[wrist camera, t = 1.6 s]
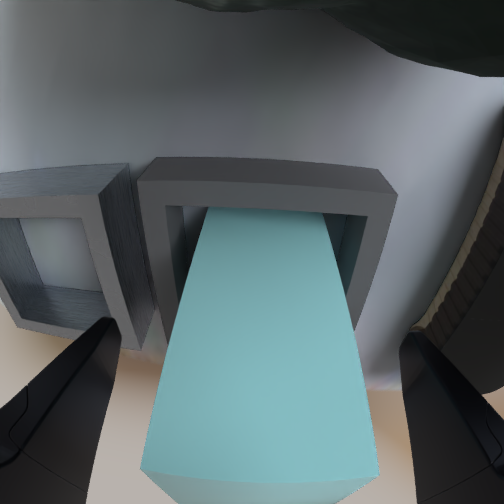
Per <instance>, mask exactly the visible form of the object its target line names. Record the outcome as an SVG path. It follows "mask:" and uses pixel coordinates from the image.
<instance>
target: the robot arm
mask: <svg viewBox="0 0 504 504" xmlns="http://www.w3.org/2000/svg"><path fill="white" fill-rule="evenodd" d="M121 343H122V335H121V332H120V330H119V327H118V324H117V322H116V320H115V319H114V318H113V317H105V316H103V317H101V318H100V319H99V320H97V321H96V322H95V323H94V324H93V325H92V326H91V327H89V328H88V329H87V330H86V331H85V332H84V333H83V334H82V335H80V336H79V337H78V338H77V339H76V340H75V341H74V342H73V343H72V344H70V345H69V346H68V347H67V348H66V349H65V350H64V351H63V352H62V353H61V354H59V355H58V356H57V357H56V358H55V359H54V360H53V361H52V362H51V363H50V364H48V365H47V366H46V367H45V368H44V369H43V370H42V371H41V372H40V373H39V374H38V375H37V376H36V377H35V378H34V379H32V380H31V381H30V382H29V383H28V386H27V385H26V386H25V387H24V388H23V389H22V390H21V391H20V392H19V393H18V394H17V395H15V396H14V397H13V398H12V399H11V400H10V401H9V402H8V403H6V404H5V405H4V406H3V407H2V408H0V504H86V499H87V492H88V487H89V483H90V478H91V473H92V468H93V464H94V459H95V455H96V450H97V446H98V442H99V438H100V433H101V430H102V426H103V422H104V418H105V415H106V411H107V407H108V403H109V400H110V396H111V393H112V389H113V385H114V381H115V375H116V369H117V364H118V358H119V353H120V348H121ZM399 360H400V370H401V381H402V393H403V400H404V405H405V411H406V417H407V423H408V429H409V436H410V443H411V450H412V458H413V467H414V476H415V485H416V497H417V503H418V504H504V420H503V418H502V417H501V416H500V415H499V414H498V413H497V412H496V411H495V410H494V408H493V407H492V406H491V405H490V404H489V403H488V402H487V401H486V399H484V397H483V396H482V395H481V394H480V393H479V392H478V391H477V389H476V388H475V387H474V386H473V385H472V384H471V383H470V382H469V381H468V380H467V378H466V377H465V376H464V375H463V374H462V373H461V372H460V371H459V370H458V369H457V368H456V367H455V365H454V364H453V363H452V362H451V361H450V360H449V359H448V358H447V357H446V356H445V355H444V354H443V353H442V352H441V351H440V350H439V349H438V348H437V347H436V346H435V344H434V343H433V342H432V341H431V340H430V339H429V338H428V337H427V336H426V335H425V334H424V333H423V332H421V331H409V332H408V333H407V335H406V337H405V339H404V340H403V342H402V344H401V346H400V349H399Z"/></svg>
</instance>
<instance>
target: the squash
mask: <svg viewBox="0 0 504 504" xmlns="http://www.w3.org/2000/svg"><path fill="white" fill-rule="evenodd" d="M177 1H180V2H183V3H187V4H190V5H194V6H197V7H200V8H204V9H207V10H210V11H219V12H251V11H258V10H267V9H286V10H293V9H307V8H321V9H322V10H324V11H325V12H327V13H328V14H329V15H331V16H332V17H334V18H335V19H336V20H338V21H339V22H341V23H342V24H343V25H345V26H346V27H347V28H349V29H351V30H353V31H355V32H357V33H359V34H360V35H362V36H364V37H366V38H368V39H369V40H371V41H372V42H374V43H375V44H377V45H378V46H380V47H381V48H383V49H384V50H386V51H387V52H389V53H391V54H393V55H396V56H398V57H401V58H405V59H408V60H411V61H415V62H418V63H421V64H424V65H428V66H434V67H439V68H444V69H449V70H454V71H459V72H463V73H467V74H471V75H476V76H479V77H504V0H177Z"/></svg>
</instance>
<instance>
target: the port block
mask: <svg viewBox="0 0 504 504" xmlns="http://www.w3.org/2000/svg"><path fill="white" fill-rule="evenodd" d="M18 218H81V219H82V223H83V227H84V230H85V234H86V238H87V241H88V245H89V249H90V252H91V255H92V259H93V262H94V265H95V269H96V272H97V275H98V278H99V281H100V284H101V287H102V290H103V292H95V291H86V290H78V289H69V288H61V287H54V286H46V285H43V283H42V281H41V279H40V276H39V274H38V271H37V269H36V267H35V264H34V262H33V259H32V256H31V254H30V251H29V249H28V246H27V243H26V240H25V238H24V235H23V232H22V229H21V226H20V223H19V220H18ZM0 297H1V299H2V301H3V303H4V304H5V306H6V308H7V310H8V312H9V313H10V315H11V317H12V319H13V320H14V322H15V324H16V325H17V327H19V328H23V329H27V330H31V331H36V332H41V333H45V334H49V335H54V336H58V337H63V338H68V339H73V340H76V339H77V338H78V337H79V336H80V335H82V334H83V333H84V332H85V331H86V330H87V329H88V328H89V327H91V326H92V325H93V324H94V323H95V322H96V321H97V320H99V319H100V318H101V317H103V316H105V317H113V318H114V319H115V320H116V322H117V324H118V327H119V330H120V332H121V335H122V343H121V348H126V349H133V350H140V351H141V349H142V346H143V343H144V340H145V337H146V334H147V331H148V328H149V325H150V322H151V319H152V316H153V313H154V310H155V309H154V304H153V300H152V296H151V291H150V287H149V282H148V278H147V273H146V268H145V263H144V258H143V253H142V248H141V242H140V237H139V231H138V226H137V220H136V214H135V208H134V201H133V195H132V188H131V180H130V173H129V165H128V163H125V164H101V165H84V166H69V167H57V168H45V169H35V170H26V171H17V172H8V173H0Z"/></svg>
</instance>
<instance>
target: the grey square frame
mask: <svg viewBox="0 0 504 504" xmlns="http://www.w3.org/2000/svg"><path fill="white" fill-rule="evenodd" d="M137 187H138V195H139V202H140V208H141V215H142V221H143V227H144V234H145V239H146V245H147V251H148V256H149V261H150V267H151V272H152V277H153V282H154V287H155V291H156V296H157V301H158V305H159V310H160V314H161V318H162V323H163V327H164V331H165V335H166V339H167V343H168V345H169V341H170V338H171V334H172V330H173V326H174V323H175V319H176V315H177V312H178V308H179V304H180V301H181V297H182V294H183V290H184V287H185V283H186V280H187V276H188V273H189V271H188V262H187V252H186V242H185V231H184V220H183V208H182V206H206V207H232V208H254V209H273V210H290V211H306V212H321V213H335V214H348V215H347V220H346V225H345V229H344V234H343V238H342V243H341V247H340V252H339V256H338V260H337V267H338V270H339V274H340V278H341V282H342V286H343V290H344V294H345V298H346V302H347V306H348V310H349V314H350V318H351V322H352V327H353V331H354V330H355V328H356V325H357V323H358V320H359V317H360V315H361V312H362V309H363V306H364V304H365V301H366V298H367V295H368V292H369V290H370V287H371V284H372V281H373V278H374V275H375V272H376V269H377V266H378V263H379V259H380V256H381V253H382V250H383V247H384V243H385V240H386V237H387V233H388V230H389V226H390V223H391V219H392V215H393V212H394V208H395V204H396V200H397V196H398V194H397V193H396V192H395V190H394V189H393V188H392V186H391V185H390V184H389V183H388V181H387V180H386V179H385V177H384V176H383V175H382V174H381V172H380V171H379V170H378V169H370V168H362V167H353V166H344V165H334V164H324V163H313V162H300V161H286V160H270V159H250V158H220V157H157V158H156V159H155V160H154V161H153V162H152V163H151V164H150V166H149V167H148V168H147V169H146V170H145V171H144V172H143V174H142V175H141V176H140V177H139V178H138V180H137Z"/></svg>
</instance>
